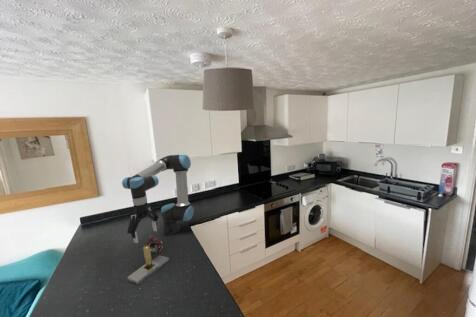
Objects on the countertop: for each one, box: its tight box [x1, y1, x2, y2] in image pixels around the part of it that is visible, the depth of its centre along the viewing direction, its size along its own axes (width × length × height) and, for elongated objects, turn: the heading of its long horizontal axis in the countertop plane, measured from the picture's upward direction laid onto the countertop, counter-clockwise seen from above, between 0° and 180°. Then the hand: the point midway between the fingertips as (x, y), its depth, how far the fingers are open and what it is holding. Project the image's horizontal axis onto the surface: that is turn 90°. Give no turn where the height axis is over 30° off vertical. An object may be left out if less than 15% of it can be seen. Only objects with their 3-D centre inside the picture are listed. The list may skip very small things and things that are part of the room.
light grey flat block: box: [126, 262, 160, 285], centre depth 119 cm, size 16×9×2 cm, turn 153°
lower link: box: [145, 254, 170, 276], centre depth 126 cm, size 16×9×1 cm, turn 153°
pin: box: [142, 245, 153, 270], centre depth 121 cm, size 4×4×15 cm
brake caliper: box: [144, 235, 164, 254], centre depth 143 cm, size 11×11×12 cm
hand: (146, 236), depth 121 cm, fingers open, 13 cm apart
